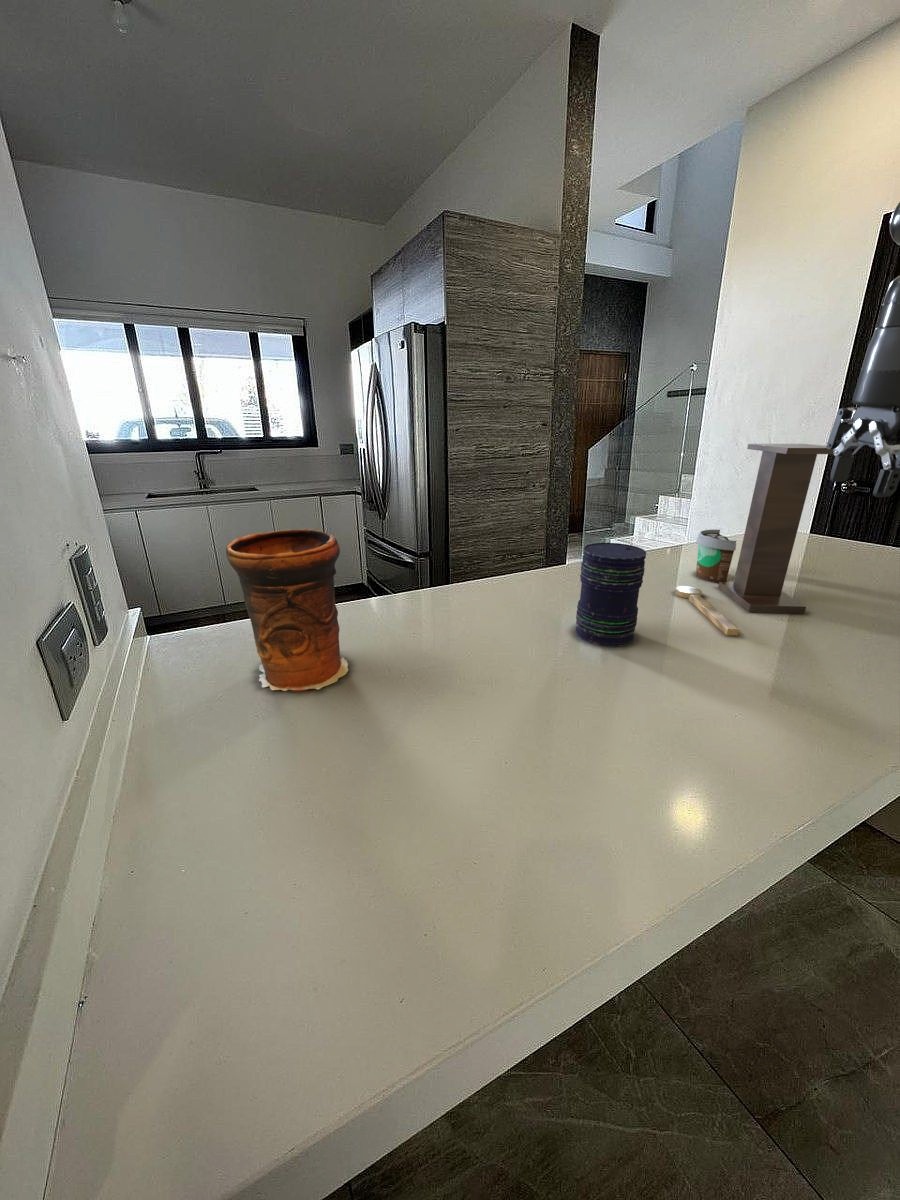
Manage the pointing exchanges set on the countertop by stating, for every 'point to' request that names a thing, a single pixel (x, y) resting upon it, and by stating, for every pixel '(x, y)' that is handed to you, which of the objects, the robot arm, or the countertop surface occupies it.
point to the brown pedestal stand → (773, 527)
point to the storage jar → (609, 593)
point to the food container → (714, 556)
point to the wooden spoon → (707, 609)
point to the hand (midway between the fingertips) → (858, 488)
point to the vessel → (291, 605)
